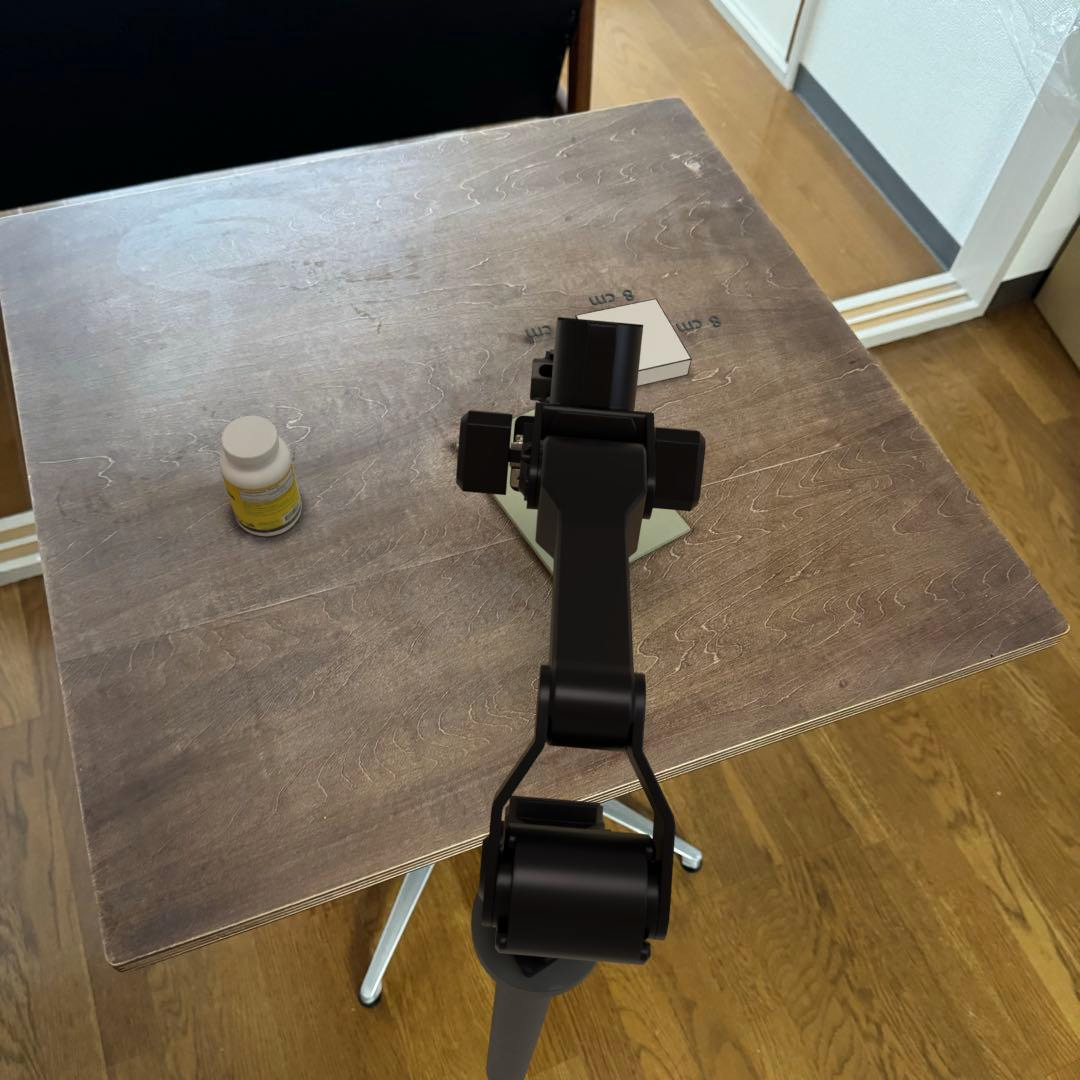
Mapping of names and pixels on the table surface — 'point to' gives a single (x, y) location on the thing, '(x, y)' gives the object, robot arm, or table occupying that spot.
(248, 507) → the pill bottle
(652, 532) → the placemat
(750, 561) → the table surface
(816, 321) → the table surface
